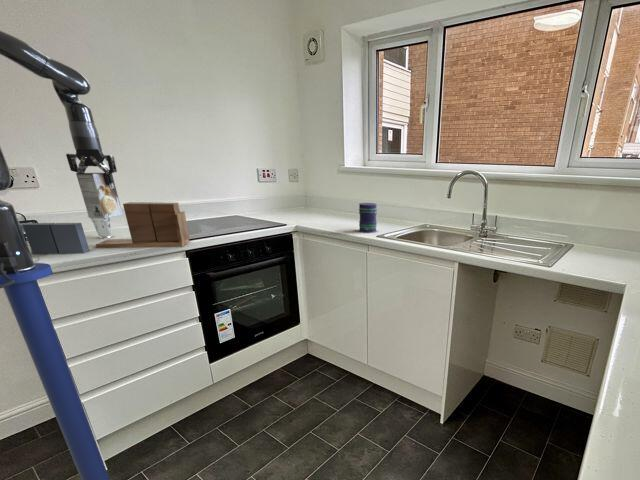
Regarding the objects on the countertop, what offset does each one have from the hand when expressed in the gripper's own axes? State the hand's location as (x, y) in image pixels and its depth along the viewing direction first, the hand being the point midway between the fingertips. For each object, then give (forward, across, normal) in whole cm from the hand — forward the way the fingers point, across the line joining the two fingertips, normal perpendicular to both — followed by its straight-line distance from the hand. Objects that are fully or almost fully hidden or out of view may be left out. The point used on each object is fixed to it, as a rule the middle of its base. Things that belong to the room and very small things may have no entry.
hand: (97, 184), depth 131 cm
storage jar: (+25, +108, +38) cm, 117 cm away
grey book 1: (+26, -22, 0) cm, 34 cm away
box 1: (+24, +7, +12) cm, 28 cm away
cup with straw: (+26, -17, +29) cm, 42 cm away
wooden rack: (+25, +6, +12) cm, 29 cm away
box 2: (+24, +16, +12) cm, 32 cm away
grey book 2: (+26, -14, 0) cm, 29 cm away
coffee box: (+12, 0, 0) cm, 12 cm away
